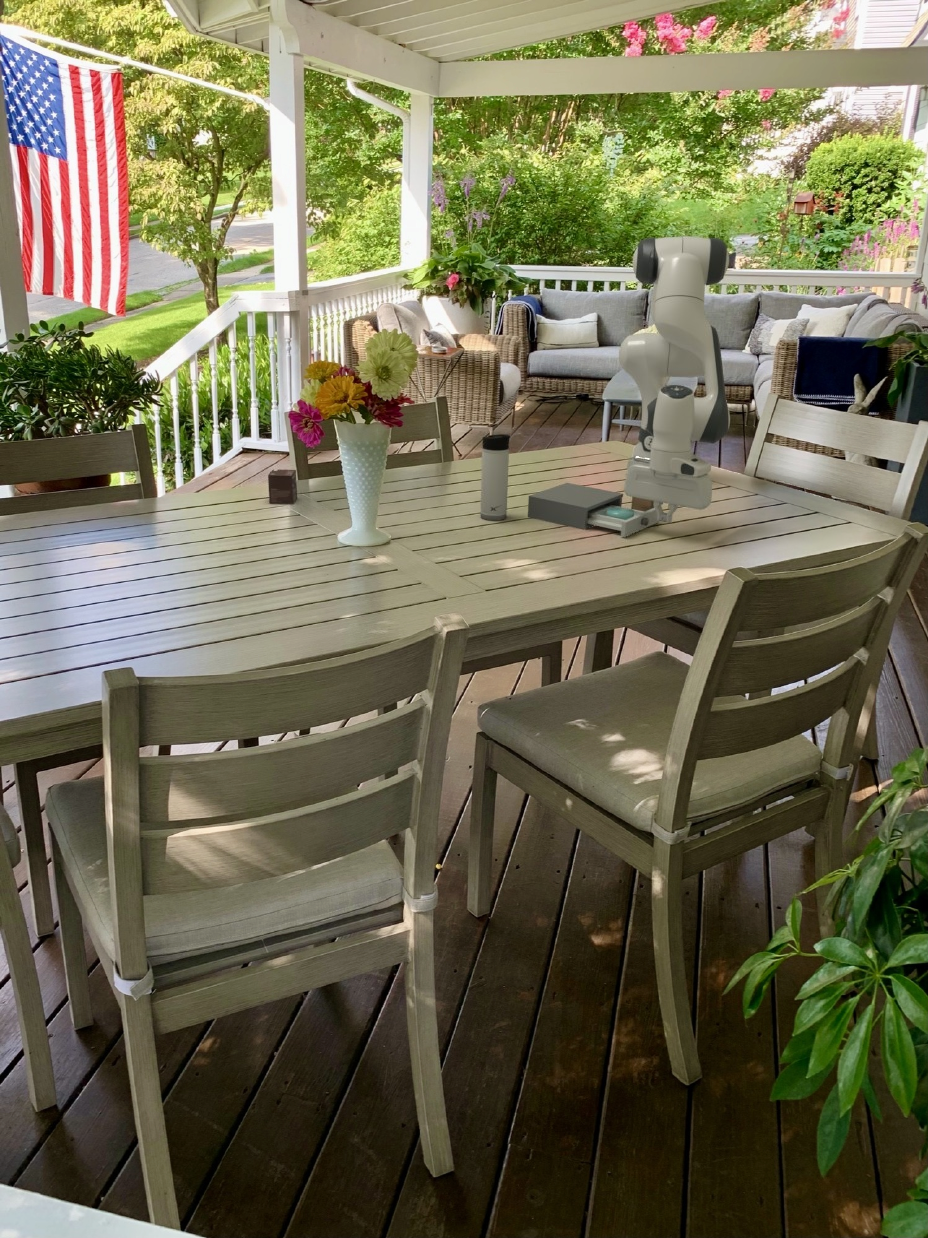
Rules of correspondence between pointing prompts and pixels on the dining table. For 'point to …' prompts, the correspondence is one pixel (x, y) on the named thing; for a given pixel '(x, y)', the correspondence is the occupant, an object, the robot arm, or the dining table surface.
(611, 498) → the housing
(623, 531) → the light grey drawer
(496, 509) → the travel mug
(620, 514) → the teal flat dome
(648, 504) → the brown wooden cube
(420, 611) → the dining table surface
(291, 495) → the box
